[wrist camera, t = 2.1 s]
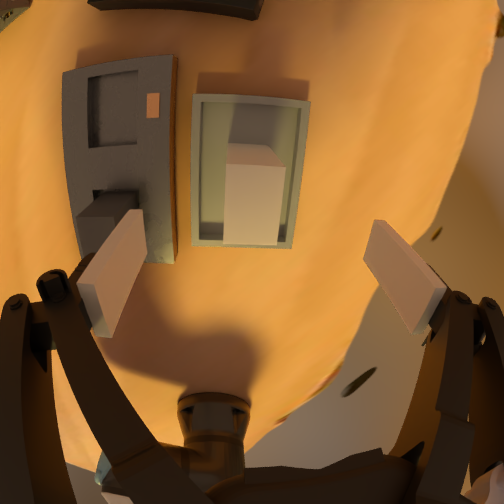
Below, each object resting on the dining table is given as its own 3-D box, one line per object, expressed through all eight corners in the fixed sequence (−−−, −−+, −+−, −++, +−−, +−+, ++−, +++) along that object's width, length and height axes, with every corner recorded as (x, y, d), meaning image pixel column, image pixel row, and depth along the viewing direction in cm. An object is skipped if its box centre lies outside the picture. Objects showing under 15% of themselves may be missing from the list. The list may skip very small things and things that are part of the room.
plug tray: (288, 240, 33) (291, 248, 32) (193, 237, 32) (191, 246, 30) (305, 101, 25) (310, 101, 24) (195, 94, 24) (192, 93, 23)
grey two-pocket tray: (177, 252, 33) (174, 264, 31) (89, 249, 32) (81, 260, 30) (177, 58, 22) (172, 54, 20) (74, 73, 21) (61, 72, 19)
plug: (262, 200, 30) (276, 245, 21) (225, 198, 30) (223, 243, 21) (267, 145, 27) (285, 167, 18) (227, 143, 27) (226, 164, 18)
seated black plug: (141, 240, 31) (123, 275, 25) (111, 240, 30) (88, 273, 24) (137, 190, 28) (113, 216, 22) (104, 191, 27) (75, 217, 21)
